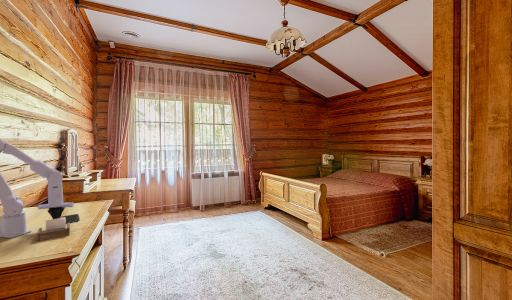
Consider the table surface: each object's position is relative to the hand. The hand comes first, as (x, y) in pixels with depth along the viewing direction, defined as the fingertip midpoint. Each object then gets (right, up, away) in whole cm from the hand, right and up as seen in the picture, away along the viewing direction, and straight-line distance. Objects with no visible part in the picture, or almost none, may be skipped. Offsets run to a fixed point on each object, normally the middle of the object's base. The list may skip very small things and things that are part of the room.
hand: (57, 222), depth 120 cm
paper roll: (+3, 0, -4) cm, 5 cm away
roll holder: (+9, -2, -12) cm, 15 cm away
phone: (-2, -2, +11) cm, 11 cm away
